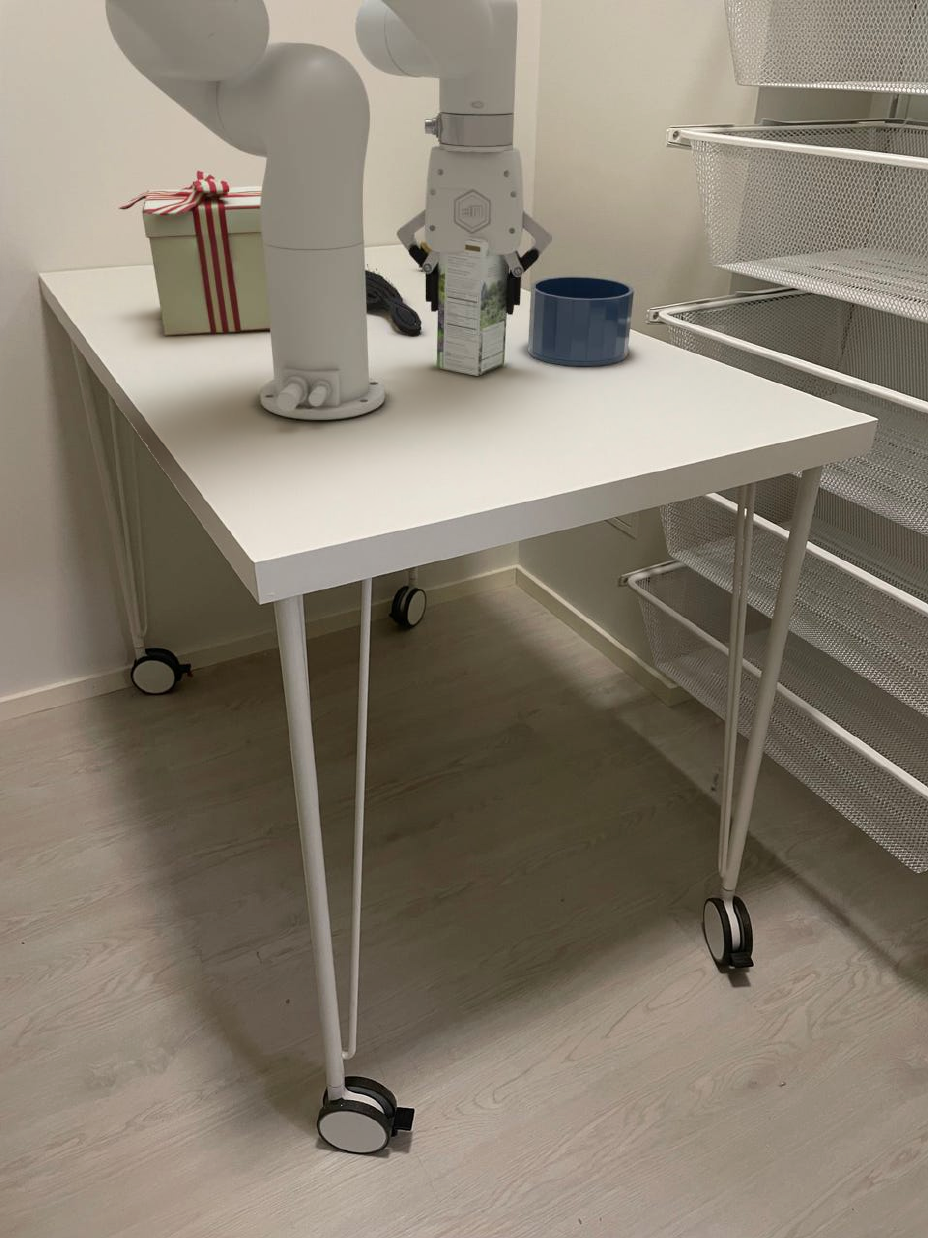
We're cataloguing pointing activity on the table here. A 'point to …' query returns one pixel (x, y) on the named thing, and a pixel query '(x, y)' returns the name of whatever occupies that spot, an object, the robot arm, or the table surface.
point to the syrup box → (471, 309)
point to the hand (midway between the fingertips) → (472, 309)
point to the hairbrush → (390, 303)
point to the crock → (580, 320)
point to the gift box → (207, 256)
